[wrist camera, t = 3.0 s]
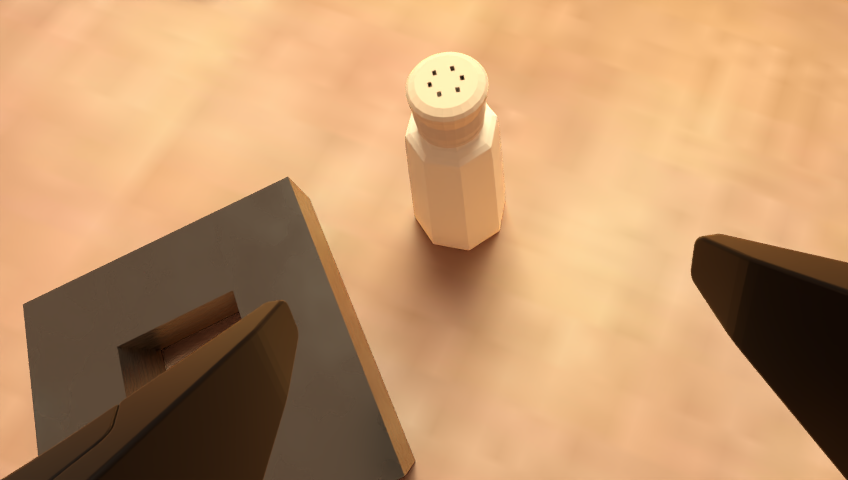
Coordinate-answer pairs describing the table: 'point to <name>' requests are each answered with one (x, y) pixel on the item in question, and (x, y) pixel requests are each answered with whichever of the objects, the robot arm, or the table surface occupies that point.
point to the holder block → (207, 304)
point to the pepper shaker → (454, 151)
